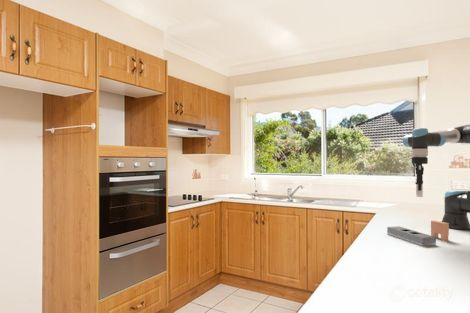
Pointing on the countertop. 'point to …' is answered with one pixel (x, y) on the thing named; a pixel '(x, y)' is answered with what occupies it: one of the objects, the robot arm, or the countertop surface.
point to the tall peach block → (440, 229)
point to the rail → (411, 236)
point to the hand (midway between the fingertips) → (419, 195)
